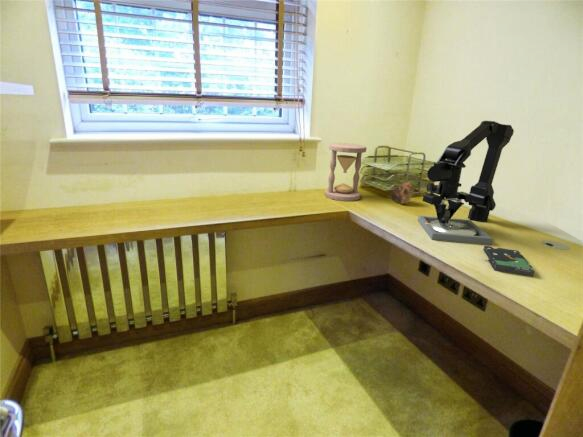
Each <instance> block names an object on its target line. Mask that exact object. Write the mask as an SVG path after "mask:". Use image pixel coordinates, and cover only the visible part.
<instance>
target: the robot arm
mask: <svg viewBox="0 0 583 437" xmlns="http://www.w3.org/2000/svg"><path fill="white" fill-rule="evenodd" d="M514 133H515V130H514V128H513V127H512V125H511V124H503V123H499V122H498V121H497V122H496V121H495V120H482V121H481V122H480V124H479V125H478V126H477V127H476V128H475V129H473V130H472V131H470V133H469V134H467V135H466V136H465V137H464V138H462V139H461V140H458V141H454V142H452V143H450V144H449V145H447V146H446V147H445V149H444V151H443V152H442V153H441V155H440V157H439V158H438V159H437V162H436V161H435V162H433V165H432V166H430V168H429V169H428V171H427V174H426V175H427V178H428V180H429V181H430V182H428V183H427V184H426V192H427V193H425V194H424V195H423V196H422V202H425V203H426V204H429V205H432V206H434V208H435V214H436V217H437V218H438V220H441V218H442V216H443V213H444V211H445V208H448V209H451V213H450V218H449V219H451V218H452V217H453V216H454V215H455V213H456V212H457V211H458V210H459V209H460V208H461V207H462V206H463V205H465V203H468V206H471V208H469V212H468V215H467V220H471V221H472V222H476V223H477V222H478V223H486V222H488V219H489V216H490V212H491V211H494V210H495V208H496V206H497V204H496V202H495V198H494V193H495V191H494V188H493V182H494V177H495V175H496V171H497V168H498V165H499V162H500V158H501V155H502V151H503V149H504V148H505V147H506V146H507V145H508V144H509V143H510V141H511V139H512V137H513V135H514ZM483 140H486V143H487V145H488V147H487V150H486V154H485V157H484V161H483V163H482V167H481V171H480V174H479V177H478V181H477V182H476V183H475V184H474V185H471V187H470V190H469V192H465V191H459V188H460V187H462V183H460V180H461V176H462V170H463V168H467V166H466V164H465V162H466V161H467V159H469V157H470V156H471V155H472V150H474V148H475V147H477V146H478V145H479V144H480V143H481V142H483ZM437 182H438V184H435V183H437ZM428 192H429V193H428ZM445 201H447V203H448V207H447V204H445ZM463 201H464V202H465V203H464V202H463Z"/></svg>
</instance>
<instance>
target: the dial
mask: <svg viewBox="0 0 583 437" xmlns="http://www.w3.org/2000/svg"><path fill="white" fill-rule="evenodd" d="M448 208H449V207H446V208H445V211H444V213H443V216H442V218H441V220H434V221H431V222H430V223H429V224H430V226H431V227H432V228H433V229H434V230H435V232H438V233H449V234H461V235H472V236H476V232H477V231H476V230H475V229H474V228H473V227H471V226H469V225H466V224H463V223H460V222H455V221H449V218H450V213H451V209H448Z"/></svg>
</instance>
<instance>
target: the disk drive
mask: <svg viewBox="0 0 583 437" xmlns="http://www.w3.org/2000/svg"><path fill="white" fill-rule="evenodd" d="M483 252H484V254H486V256H487V258H488V260H487V261H488V262H489V264H490V266H491V268H492V269H493V270H494V271H495V272H501V273H506V274H512V275H519V276H524V277H532V278H533V277H534V274H535V271H534V268H533V266H532V265H531V264H530V263H529V262H528V260H527V258H525V257H524V255H523V254H522V253H521V252H520V251H519V250H516V249H509V248H503V247H497V248H494V247H493V246H491V245H484V246H483Z"/></svg>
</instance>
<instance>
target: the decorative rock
mask: <svg viewBox="0 0 583 437" xmlns="http://www.w3.org/2000/svg"><path fill="white" fill-rule="evenodd" d="M414 191H415V187H414V186H413V185H412V184H411V183H410V182H409V181H407V180H406V181H404V182H402V183H401V184H399V185H397V186H396V187H395V188H394V189H392V192H391V200H393V201H394V202H395V203H397V204H399V205H403V204H405V205H406V204H409V202H410V200H411V198H412V196H413V195H414Z"/></svg>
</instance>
